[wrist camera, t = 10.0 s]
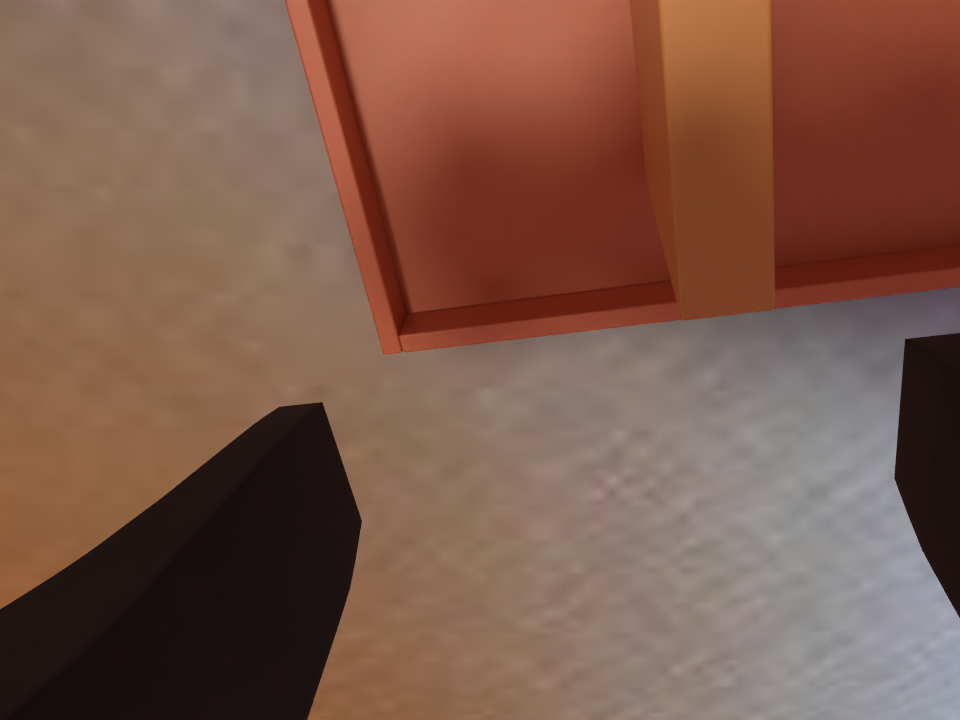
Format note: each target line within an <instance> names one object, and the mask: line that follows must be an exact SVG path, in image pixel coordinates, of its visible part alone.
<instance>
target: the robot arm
mask: <svg viewBox="0 0 960 720" xmlns="http://www.w3.org/2000/svg"><path fill="white" fill-rule="evenodd" d="M895 481H896V484H897V486H898V489H899V492H900V494H901V497H902V500H903V503H904V505H905V508H906V511H907V513H908V516H909V519H910V521H911V523H912V526H913V528H914V531H915V533H916V536H917V538H918V541H919V543H920V546H921V548H922V551H923V552H924V554H925V556H926V558H927V560H928V562H929V564H930V565H931V567H932V569H933V571H934V573H935V574H936V576H937V578H938V580H939V582H940V583H941V585H942V587H943V589H944V591H945V592H946V594H947V596H948V598H949V600H950V601H951V603H952V605H953V607H954V609H955V610H956V612H957V614H958V616H959V617H960V333H957V334H947V335H938V336H929V337H920V338H910V339H905V347H904V360H903V374H902V387H901V400H900V413H899V426H898V439H897V452H896V465H895ZM361 523H362V520H361V517H360V514H359V511H358V508H357V505H356V502H355V499H354V496H353V493H352V490H351V487H350V484H349V481H348V478H347V475H346V472H345V469H344V466H343V463H342V460H341V457H340V454H339V451H338V448H337V445H336V442H335V439H334V436H333V433H332V430H331V427H330V424H329V421H328V418H327V415H326V412H325V409H324V406H323V403H322V402H320V403H311V404H302V405H293V406H283V407H279V408H277V409H276V410H274V411H272V412H271V413H269V414H268V415H266V416H265V417H263V418H262V419H261V420H259V421H258V422H257V423H255V424H254V425H253V426H251V427H250V428H249V429H247V430H246V431H245V432H244V433H242V434H241V435H240V436H238V437H237V438H236V439H235V440H233V441H232V442H231V443H230V444H228V445H227V446H226V447H225V448H223V449H222V450H221V451H220V452H219V453H217V454H216V455H215V456H214V457H212V458H211V459H210V460H209V461H207V462H206V463H205V464H204V465H202V466H201V467H200V468H199V469H197V470H196V471H195V472H194V473H192V474H191V475H190V476H189V477H187V478H186V479H185V480H184V481H182V482H181V483H180V484H179V485H177V486H176V487H175V488H174V489H172V490H171V491H170V492H169V493H167V494H166V495H165V496H164V497H162V498H161V499H160V500H158V501H157V502H156V503H154V504H153V505H152V506H150V507H149V508H148V509H146V510H145V511H144V512H142V513H141V514H140V515H138V516H137V517H136V518H134V519H133V520H132V521H130V522H129V523H128V524H126V525H125V526H124V527H122V528H121V529H120V530H118V531H117V532H115V533H114V534H113V535H111V536H110V537H109V538H107V539H106V540H105V541H103V542H102V543H101V544H99V545H98V546H97V547H95V548H94V549H93V550H91V551H90V552H88V553H87V554H85V555H84V556H82V557H81V558H80V559H78V560H77V561H75V562H74V563H72V564H71V565H69V566H68V567H66V568H65V569H63V570H62V571H60V572H59V573H57V574H56V575H54V576H53V577H51V578H50V579H48V580H46V581H45V582H43V583H42V584H40V585H39V586H37V587H35V588H34V589H32V590H31V591H29V592H28V593H26V594H24V595H23V596H21V597H20V598H18V599H16V600H15V601H13V602H12V603H10V604H8V605H7V606H5V607H3V608H2V609H0V720H307V718H308V715H309V712H310V709H311V706H312V703H313V700H314V697H315V694H316V691H317V688H318V685H319V682H320V679H321V676H322V673H323V670H324V667H325V664H326V661H327V658H328V655H329V652H330V649H331V646H332V643H333V640H334V637H335V634H336V631H337V628H338V625H339V621H340V618H341V615H342V612H343V609H344V606H345V603H346V599H347V596H348V593H349V590H350V585H351V580H352V575H353V570H354V565H355V560H356V554H357V548H358V542H359V535H360V529H361Z"/></svg>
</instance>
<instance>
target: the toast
mask: <svg viewBox="0 0 960 720" xmlns="http://www.w3.org/2000/svg"><path fill="white" fill-rule="evenodd" d="M630 10H631V21H632V32H633V43H634V55H635V66H636V77H637V88H638V99H639V110H640V122H641V133H642V144H643V155H644V166H645V178H646V183H647V187H648V191H649V195H650V199H651V202H652V206H653V210H654V214H655V218H656V222H657V226H658V230H659V234H660V238H661V242H662V246H663V250H664V254H665V258H666V262H667V266H668V270H669V274H670V278H671V282H672V286H673V290H674V293H675V297H676V301H677V305H678V309H679V313H680V317H681V318H682V320H692V319H700V318H709V317H717V316H726V315H734V314H743V313H751V312H760V311H768V310H772V309H774V306H775V266H774V177H773V88H772V0H630Z"/></svg>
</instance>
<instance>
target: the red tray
mask: <svg viewBox="0 0 960 720" xmlns="http://www.w3.org/2000/svg"><path fill="white" fill-rule="evenodd" d="M285 3H286V7H287V10H288V14H289V17H290V21H291V24H292V28H293V32H294V35H295V39H296V42H297V46H298V50H299V53H300V57H301V60H302V64H303V67H304V71H305V75H306V78H307V82H308V85H309V89H310V92H311V96H312V100H313V103H314V107H315V110H316V114H317V118H318V121H319V125H320V128H321V132H322V135H323V139H324V143H325V146H326V150H327V153H328V157H329V160H330V164H331V168H332V171H333V175H334V178H335V182H336V185H337V189H338V193H339V196H340V200H341V203H342V207H343V211H344V214H345V218H346V221H347V225H348V228H349V232H350V236H351V239H352V243H353V246H354V250H355V253H356V257H357V261H358V264H359V268H360V271H361V275H362V279H363V282H364V286H365V289H366V293H367V296H368V300H369V304H370V307H371V311H372V314H373V318H374V321H375V325H376V329H377V332H378V336H379V339H380V343H381V347H382V350H383V353H384V354H394V353H401V352H402V351H403V352H411V351H419V350H428V349H436V348H445V347H453V346H462V345H470V344H479V343H487V342H496V341H504V340H513V339H521V338H530V337H538V336H547V335H555V334H564V333H572V332H581V331H589V330H598V329H606V328H615V327H623V326H631V325H640V324H648V323H657V322H665V321H674V320H682V318H681V317H680V313H679V309H678V305H677V301H676V297H675V293H674V290H673V286H672V282H671V278H670V274H669V270H668V266H667V262H666V258H665V254H664V250H663V246H662V242H661V238H660V234H659V230H658V226H657V222H656V218H655V214H654V210H653V206H652V202H651V199H650V195H649V191H648V187H647V183H646V178H645V166H644V155H643V144H642V133H641V122H640V110H639V99H638V88H637V77H636V66H635V55H634V43H633V32H632V21H631V10H630V0H285ZM772 88H773V177H774V266H775V306H774V309H776V308H784V307H793V306H801V305H810V304H818V303H827V302H835V301H844V300H852V299H861V298H869V297H878V296H886V295H895V294H903V293H912V292H920V291H929V290H937V289H946V288H954V287H960V0H772Z"/></svg>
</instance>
